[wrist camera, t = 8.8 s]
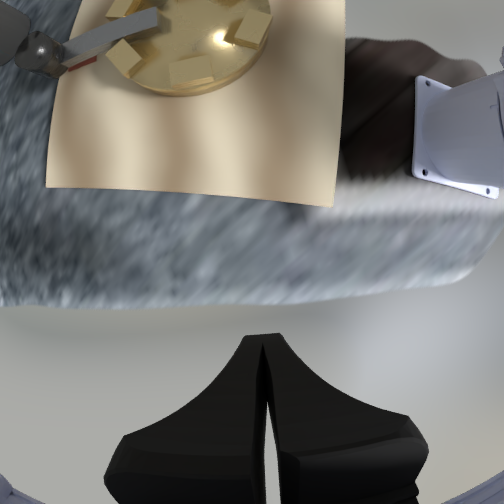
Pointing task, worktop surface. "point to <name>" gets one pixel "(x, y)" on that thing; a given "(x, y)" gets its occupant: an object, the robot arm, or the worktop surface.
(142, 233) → the worktop surface
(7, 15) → the bottle
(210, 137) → the base board
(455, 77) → the worktop surface
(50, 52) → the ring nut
